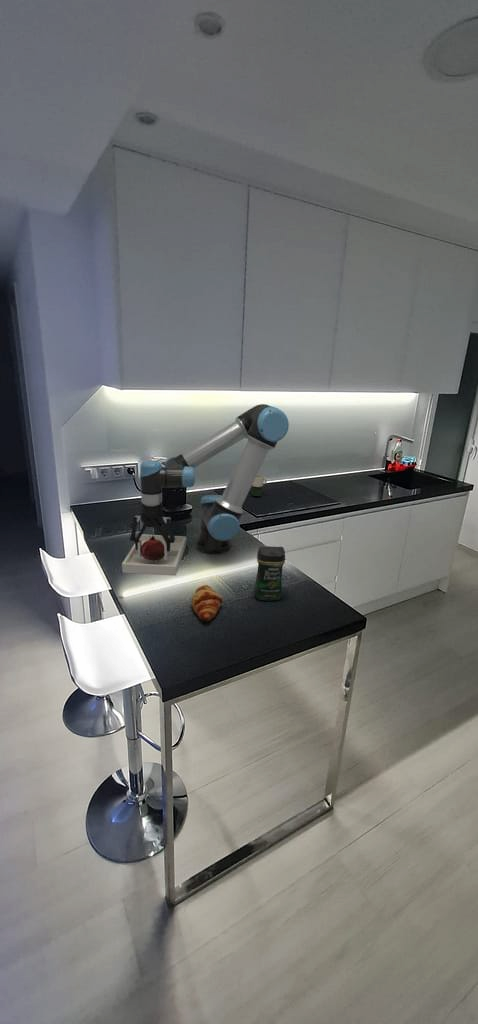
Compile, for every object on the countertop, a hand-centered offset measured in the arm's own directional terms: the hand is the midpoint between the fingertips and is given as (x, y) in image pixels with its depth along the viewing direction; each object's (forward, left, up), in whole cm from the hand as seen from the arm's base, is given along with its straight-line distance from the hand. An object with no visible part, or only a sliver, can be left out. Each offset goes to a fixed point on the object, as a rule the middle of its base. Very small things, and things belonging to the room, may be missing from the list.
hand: (153, 557), depth 165 cm
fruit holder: (0, -7, -3) cm, 8 cm away
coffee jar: (-44, +19, -3) cm, 48 cm away
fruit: (0, 0, -1) cm, 1 cm away
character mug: (-42, -97, -3) cm, 106 cm away
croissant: (-23, +28, -3) cm, 37 cm away
